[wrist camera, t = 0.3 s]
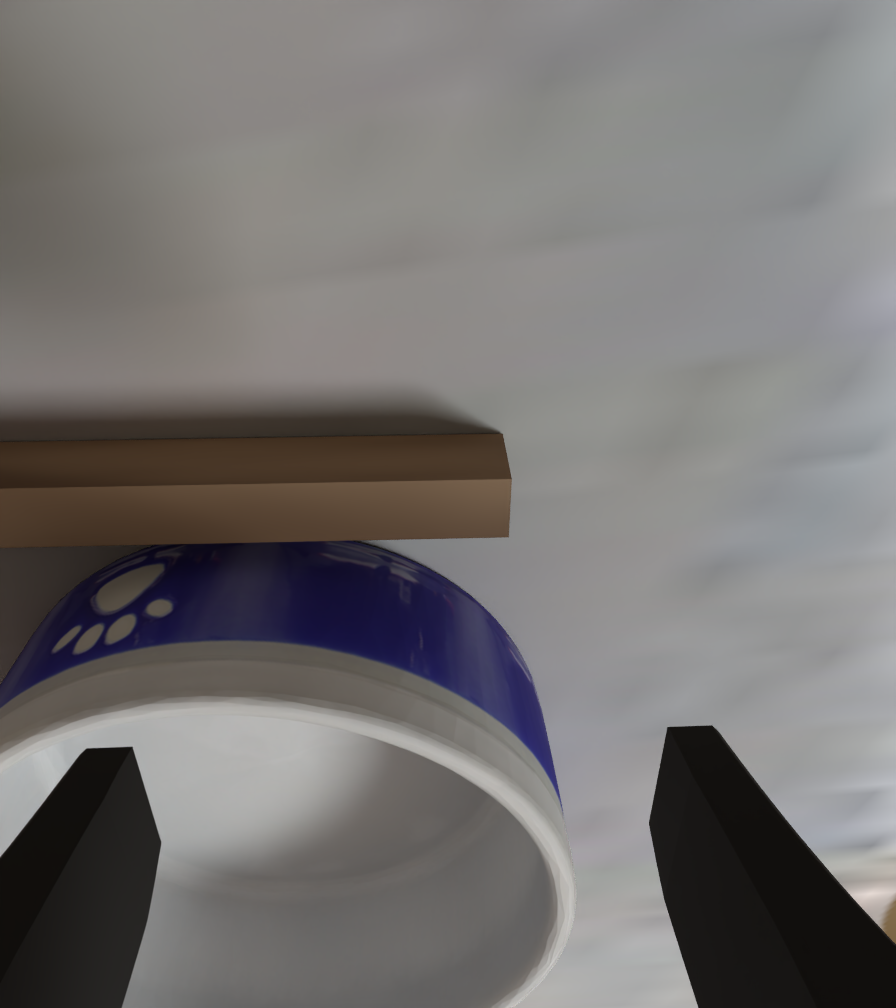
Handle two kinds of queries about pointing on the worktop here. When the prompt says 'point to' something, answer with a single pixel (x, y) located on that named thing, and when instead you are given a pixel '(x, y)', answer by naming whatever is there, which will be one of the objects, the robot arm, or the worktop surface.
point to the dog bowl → (307, 775)
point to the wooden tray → (253, 490)
